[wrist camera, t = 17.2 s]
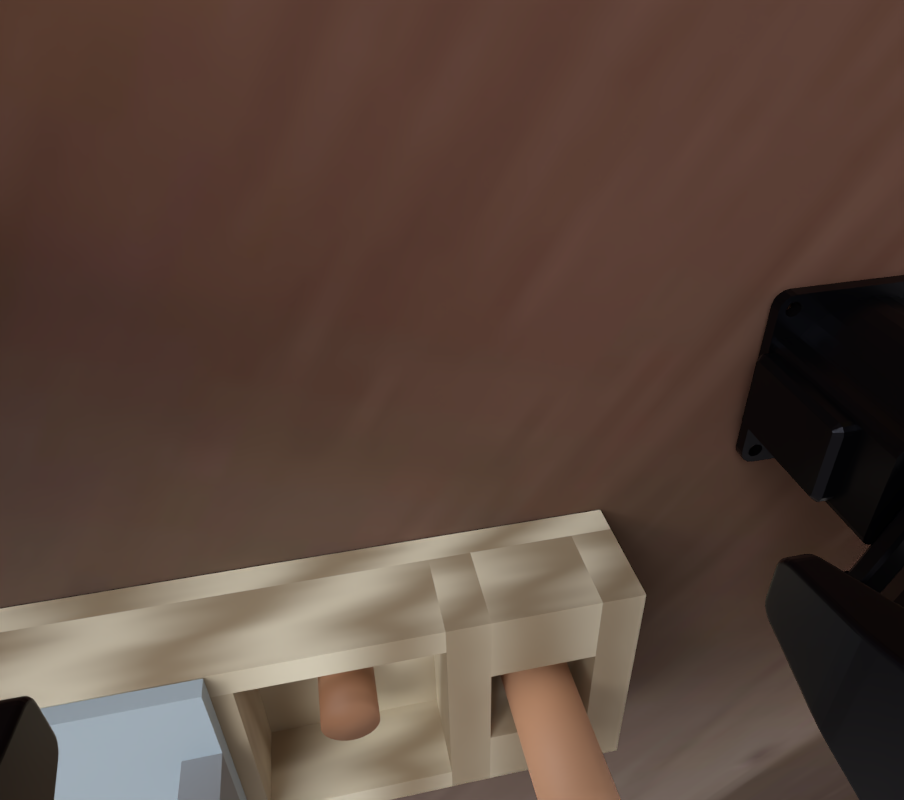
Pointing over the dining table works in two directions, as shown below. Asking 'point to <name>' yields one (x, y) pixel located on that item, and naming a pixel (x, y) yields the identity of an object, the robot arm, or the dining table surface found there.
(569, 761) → the peg
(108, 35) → the dining table surface
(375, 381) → the dining table surface
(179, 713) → the lid
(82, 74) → the dining table surface
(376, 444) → the dining table surface
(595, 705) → the wooden compartment tray
